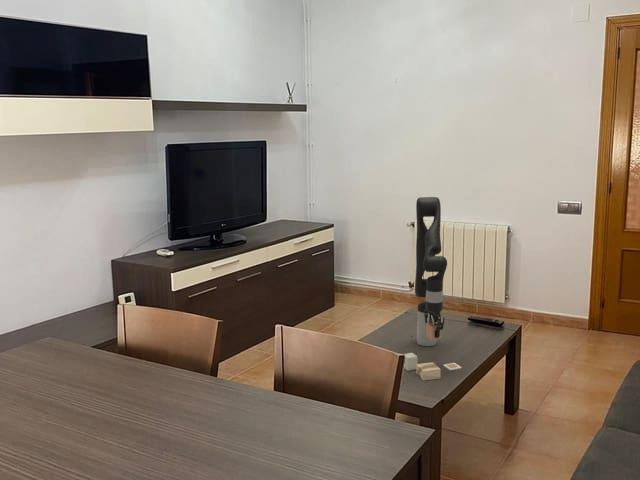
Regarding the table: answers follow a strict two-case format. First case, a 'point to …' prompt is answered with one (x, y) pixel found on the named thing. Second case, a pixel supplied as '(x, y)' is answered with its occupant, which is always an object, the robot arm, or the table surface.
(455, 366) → the card
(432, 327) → the terracotta block
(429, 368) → the birch base block
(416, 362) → the grey block
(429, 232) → the robot arm
